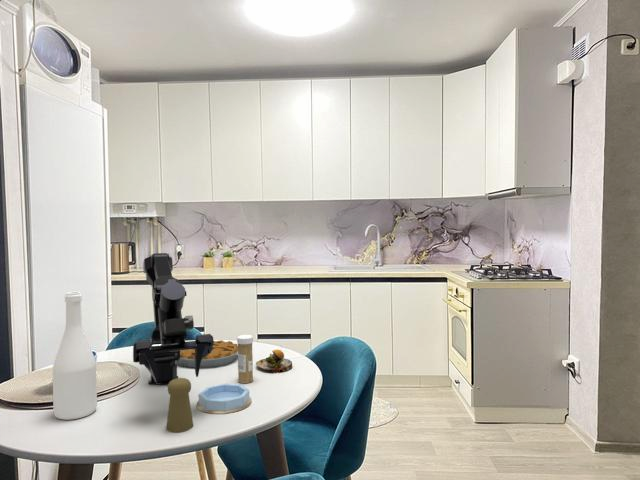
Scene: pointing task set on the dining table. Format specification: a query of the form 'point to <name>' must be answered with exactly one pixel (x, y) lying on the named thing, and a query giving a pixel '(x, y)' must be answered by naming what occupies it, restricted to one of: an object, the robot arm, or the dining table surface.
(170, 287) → the robot arm
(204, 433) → the dining table surface
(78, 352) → the wine bottle
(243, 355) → the sprinkles bottle
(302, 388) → the dining table surface
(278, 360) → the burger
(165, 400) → the dining table surface
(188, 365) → the pie
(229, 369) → the dining table surface
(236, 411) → the placemat
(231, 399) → the bowl
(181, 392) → the cork
